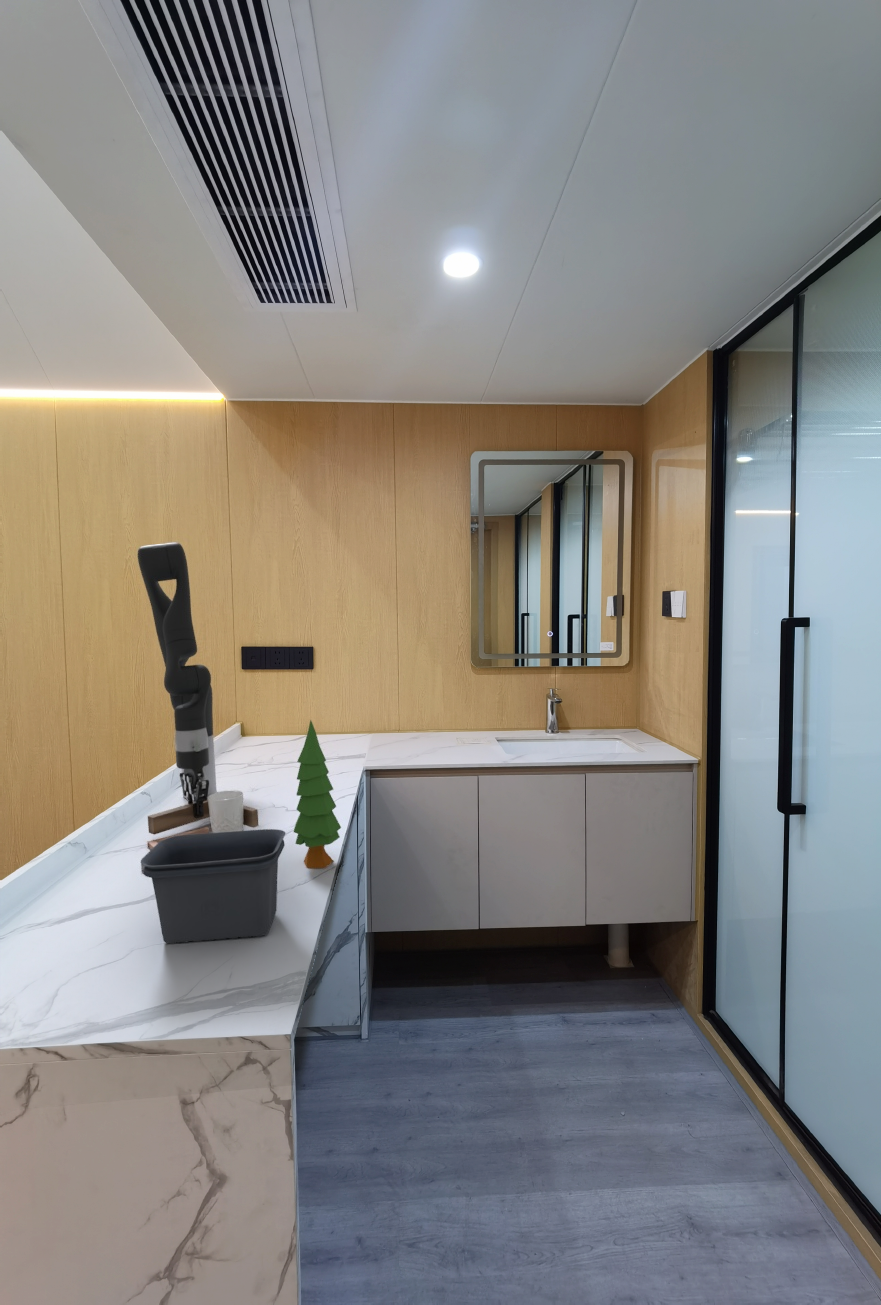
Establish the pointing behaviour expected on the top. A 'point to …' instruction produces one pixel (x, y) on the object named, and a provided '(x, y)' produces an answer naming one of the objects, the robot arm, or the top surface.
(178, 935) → the storage bin
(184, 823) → the wooden l-shaped bracket
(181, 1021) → the top surface
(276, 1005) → the top surface
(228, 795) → the white cup
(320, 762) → the decorative tree
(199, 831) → the corral frame
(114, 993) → the top surface
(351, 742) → the top surface
